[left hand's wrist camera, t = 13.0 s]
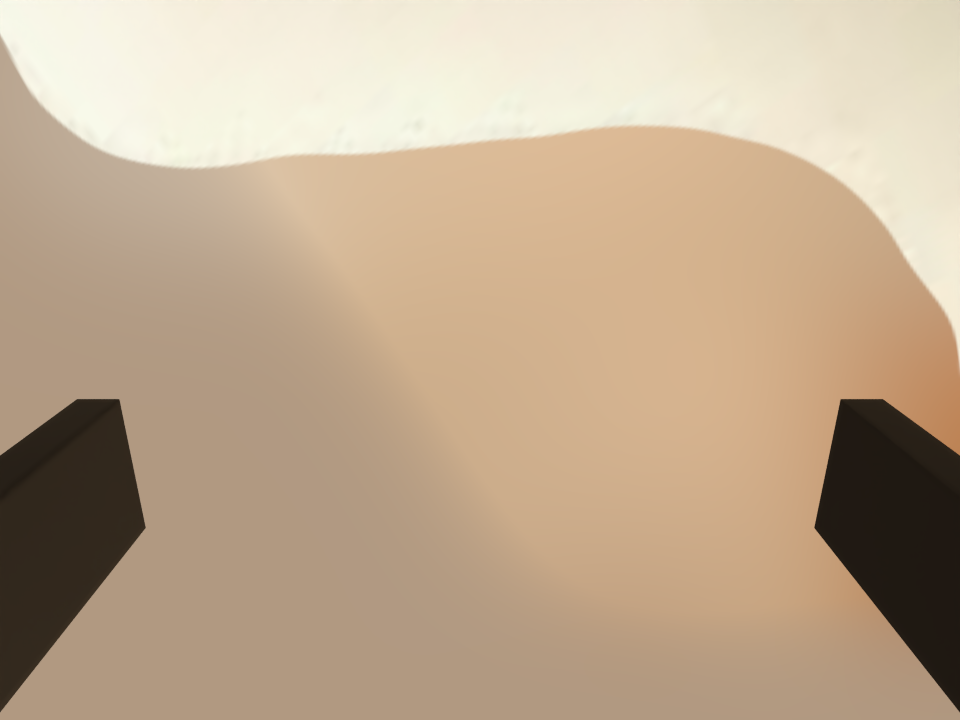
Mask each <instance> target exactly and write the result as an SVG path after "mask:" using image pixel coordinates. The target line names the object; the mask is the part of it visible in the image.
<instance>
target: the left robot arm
mask: <svg viewBox="0 0 960 720" xmlns="http://www.w3.org/2000/svg"><path fill="white" fill-rule="evenodd" d="M144 529H145V523H144V518H143V513H142V508H141V503H140V498H139V493H138V488H137V483H136V479H135V474H134V469H133V464H132V459H131V454H130V449H129V445H128V440H127V435H126V430H125V425H124V420H123V415H122V410H121V405H120V401H119V399H77V400H75V401H74V402H73V403H71V404H70V405H69V406H67V407H66V408H65V409H63V410H62V411H60V412H59V413H58V414H56V415H55V416H54V417H52V418H51V419H50V420H48V421H47V422H45V423H44V424H43V425H41V426H40V427H39V428H37V429H36V430H35V431H33V432H32V433H30V434H29V435H28V436H26V437H25V438H24V439H22V440H21V441H20V442H18V443H17V444H15V445H14V446H13V447H11V448H10V449H9V450H7V451H6V452H5V453H3V454H2V455H0V712H1V710H2V709H3V708H4V707H5V705H6V704H7V703H8V702H9V700H10V699H11V698H12V696H13V695H14V694H15V693H16V691H17V690H18V689H19V688H20V686H21V685H22V684H23V683H24V681H25V680H26V679H27V677H28V676H29V675H30V674H31V672H32V671H33V670H34V669H35V667H36V666H37V665H38V664H39V662H40V661H41V660H42V658H43V657H44V656H45V655H46V653H47V652H48V651H49V650H50V648H51V647H52V646H53V645H54V643H55V642H56V641H57V639H58V638H59V637H60V636H61V634H62V633H63V632H64V631H65V629H66V628H67V627H68V625H69V624H70V623H71V622H72V620H73V619H74V618H75V617H76V615H77V614H78V613H79V612H80V610H81V609H82V608H83V606H84V605H85V604H86V603H87V601H88V600H89V599H90V598H91V596H92V595H93V594H94V593H95V591H96V590H97V589H98V587H99V586H100V585H101V584H102V582H103V581H104V580H105V579H106V577H107V576H108V575H109V574H110V572H111V571H112V570H113V569H114V567H115V566H116V565H117V563H118V562H119V561H120V560H121V558H122V557H123V556H124V555H125V553H126V552H127V551H128V550H129V548H130V547H131V546H132V544H133V543H134V542H135V541H136V539H137V538H138V537H139V536H140V534H141V533H142V532H143V530H144ZM815 529H816V530H817V532H818V533H819V534H820V536H821V537H822V538H823V539H824V541H825V542H826V543H827V544H828V546H829V547H830V548H831V549H832V551H833V552H834V553H835V555H836V556H837V557H838V558H839V560H840V561H841V562H842V563H843V565H844V566H845V567H846V569H847V570H848V571H849V572H850V574H851V575H852V576H853V577H854V579H855V580H856V581H857V582H858V584H859V585H860V586H861V587H862V589H863V590H864V591H865V593H866V594H867V595H868V596H869V598H870V599H871V600H872V601H873V603H874V604H875V605H876V607H877V608H878V609H879V610H880V612H881V613H882V614H883V615H884V617H885V618H886V619H887V620H888V622H889V623H890V624H891V626H892V627H893V628H894V629H895V631H896V632H897V633H898V634H899V636H900V637H901V638H902V639H903V641H904V642H905V643H906V645H907V646H908V647H909V648H910V650H911V651H912V652H913V653H914V655H915V656H916V657H917V658H918V660H919V661H920V662H921V664H922V665H923V666H924V667H925V669H926V670H927V671H928V672H929V674H930V675H931V676H932V677H933V679H934V680H935V681H936V683H937V684H938V685H939V686H940V688H941V689H942V690H943V691H944V693H945V694H946V695H947V697H948V698H949V699H950V700H951V701H952V703H953V704H954V705H955V707H956V708H957V709H958V710H959V712H960V455H958V454H957V453H956V452H954V451H953V450H951V449H950V448H949V447H947V446H946V445H945V444H943V443H942V442H940V441H939V440H938V439H936V438H935V437H934V436H932V435H931V434H929V433H928V432H927V431H925V430H924V429H923V428H921V427H920V426H919V425H917V424H916V423H914V422H913V421H912V420H910V419H909V418H908V417H906V416H905V415H904V414H902V413H901V412H900V411H898V410H897V409H895V408H894V407H893V406H891V405H890V404H889V403H887V402H886V401H885V400H883V399H841V401H840V405H839V410H838V415H837V420H836V425H835V430H834V435H833V440H832V444H831V449H830V454H829V459H828V464H827V469H826V474H825V479H824V484H823V488H822V493H821V498H820V503H819V508H818V513H817V518H816V523H815Z"/></svg>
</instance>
